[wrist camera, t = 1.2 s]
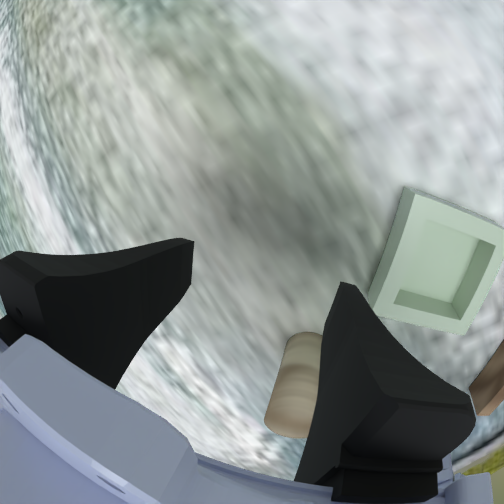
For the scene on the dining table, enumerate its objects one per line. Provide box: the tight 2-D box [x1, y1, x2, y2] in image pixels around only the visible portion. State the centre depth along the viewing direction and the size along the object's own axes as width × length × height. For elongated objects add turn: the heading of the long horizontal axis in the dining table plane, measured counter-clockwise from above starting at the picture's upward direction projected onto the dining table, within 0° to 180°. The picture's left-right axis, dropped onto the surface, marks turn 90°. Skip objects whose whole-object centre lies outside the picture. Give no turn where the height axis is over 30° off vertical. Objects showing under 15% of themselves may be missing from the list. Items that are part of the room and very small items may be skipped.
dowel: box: [264, 332, 323, 438], centre depth 20 cm, size 4×4×8 cm
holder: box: [368, 186, 504, 336], centre depth 16 cm, size 8×8×3 cm
